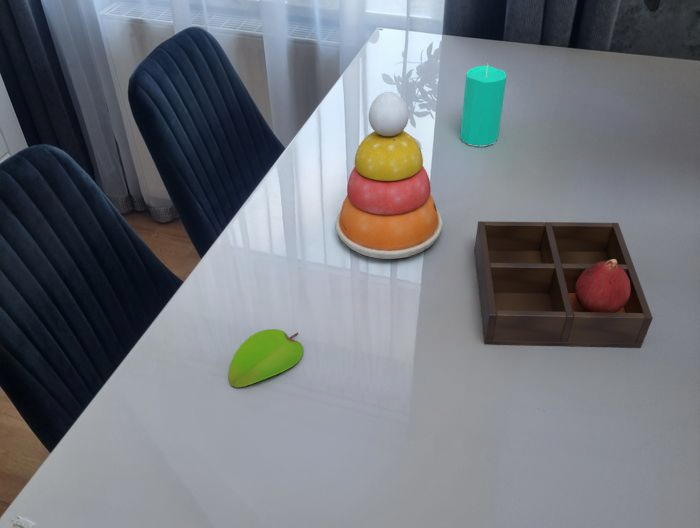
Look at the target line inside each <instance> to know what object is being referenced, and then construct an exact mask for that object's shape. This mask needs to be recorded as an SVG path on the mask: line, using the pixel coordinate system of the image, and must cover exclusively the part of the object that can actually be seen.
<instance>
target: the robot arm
mask: <svg viewBox="0 0 700 528" xmlns="http://www.w3.org/2000/svg"><path fill="white" fill-rule="evenodd" d="M643 3H644V5H645V7H646V8H647V10H648V11H649V12H650V13H651V12H652V13H655V12H656V11H658V10H659V8H660V4H661V0H643Z"/></svg>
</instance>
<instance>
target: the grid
mask: <svg viewBox="0 0 700 528" xmlns="http://www.w3.org/2000/svg"><path fill="white" fill-rule="evenodd" d="M474 242H475V243H474V249H473V250H474V258H475V270H476V277H477V278H476V279H477V286H478V297H479V305H480V315H481V323H482V334H483V342H484V345H495V346H539V347H540V346H541V347H542V346H544V347H545V346H548V347H549V346H550V347H585V348H586V347H591V348H592V347H595V348H631V349H632V348H633V349H634V348H635V349H636V348H637V349H639V348H640V349H641V348H642V346H643V344H644V341H645V339H646V337H647V334H648V332H649V329H650V326H651V323H652V321H653V314H652V312H651V309H650V307H649V304H648V301H647V298H646V295H645V293H644V290H643V287H642V284H641V282H640V280H639V276H638V273H637V270H636V268H635V266H634V263H633V260H632V258H631V255H630V254H631V253H630V251H629V249H628V245H627V243H626V240H625V238H624V234H623V232H622V229H621V225H620V224H619V222H587V221H586V222H585V221H584V222H579V221H577V222H576V221H489V220H488V221H482V220H481V221H479V220H478V221H477V227H476V234H475V241H474ZM612 259H616V261H617V265H619V266H620V267H621V268H622V269H623V270H624V271H625V273H626V274H627V276H628V278H629V280H630V290H631V291H630V297H629V299H628V301H627V302H626V304H625V306H624V307H623V308H622V309H620V310H619V311H618V312H616V313H605V312H588V311H586V310H585V309H584V308H582V306H581V305H580V304H579V302H578V301H577V299H576V293H575V287H576V282H577V280H578V278H579V277H580V275H581V274H582V273H583V272H584V270H585V269H586V268H588V267H589V266H591V265H594V264H596V263H598V262H602V261H609V260H612Z"/></svg>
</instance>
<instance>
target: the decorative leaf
mask: <svg viewBox="0 0 700 528" xmlns="http://www.w3.org/2000/svg"><path fill="white" fill-rule="evenodd" d="M297 335H299V332H295V333H294V334H292V335H291V336H290V337H289V336H288V334H287V333H286V332H285V331H284V330H282V329H278V328H277V329H276V328H271V329H270V328H269V329H264V330H260V331H257V332H255V333H254V334H252V335H250V336H249V337H248V338H246V339H245V340H244V342H242V344H241V345H240V346H239V347H238V348H237V350H236V352H235V353H234V355H233V357H232V359H231V362H230V365H229V369H228V381H229V384H230V386H232V387H233V386H234V387H233V388H243V387H246V386H249V385H253V384H255V383H258V382H260V381H264V380H266V379H268V378H271V377H273V376H277V375H278V374H280V373H283V372H284V371H286V370H289V369H290V368H292V367H294V366H295V365H296V364H297V363H298V362H300V361H301V359H302V357H303V355H304V346H303V344H302V343H301V342H300V341H298V340H295V339H293V338H294V337H296V336H297Z"/></svg>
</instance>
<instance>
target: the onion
mask: <svg viewBox="0 0 700 528" xmlns="http://www.w3.org/2000/svg"><path fill="white" fill-rule="evenodd" d="M630 291H631V290H630V280H629V278H628V276H627V274H626V273H625V271H624V270H623V269H622V268H621V267H620V266H619V265H617V261H616V259H612V260H609V261H602V262H598V263H596V264H594V265H591V266H589V267H588V268H586V269H585V270H584V272H583V273H582V274H581V275H580V277H579V278H578V280H577V282H576V287H575V293H576V299H577V301H578V302H579V304H580V305H581V306H582V308H584V309H585V310H586V311H588V312H605V313H616V312H618V311H619V310H620V309H622V308H623V307H624V306H625V304H626V302H627V301H628V299H629V297H630Z"/></svg>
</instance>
